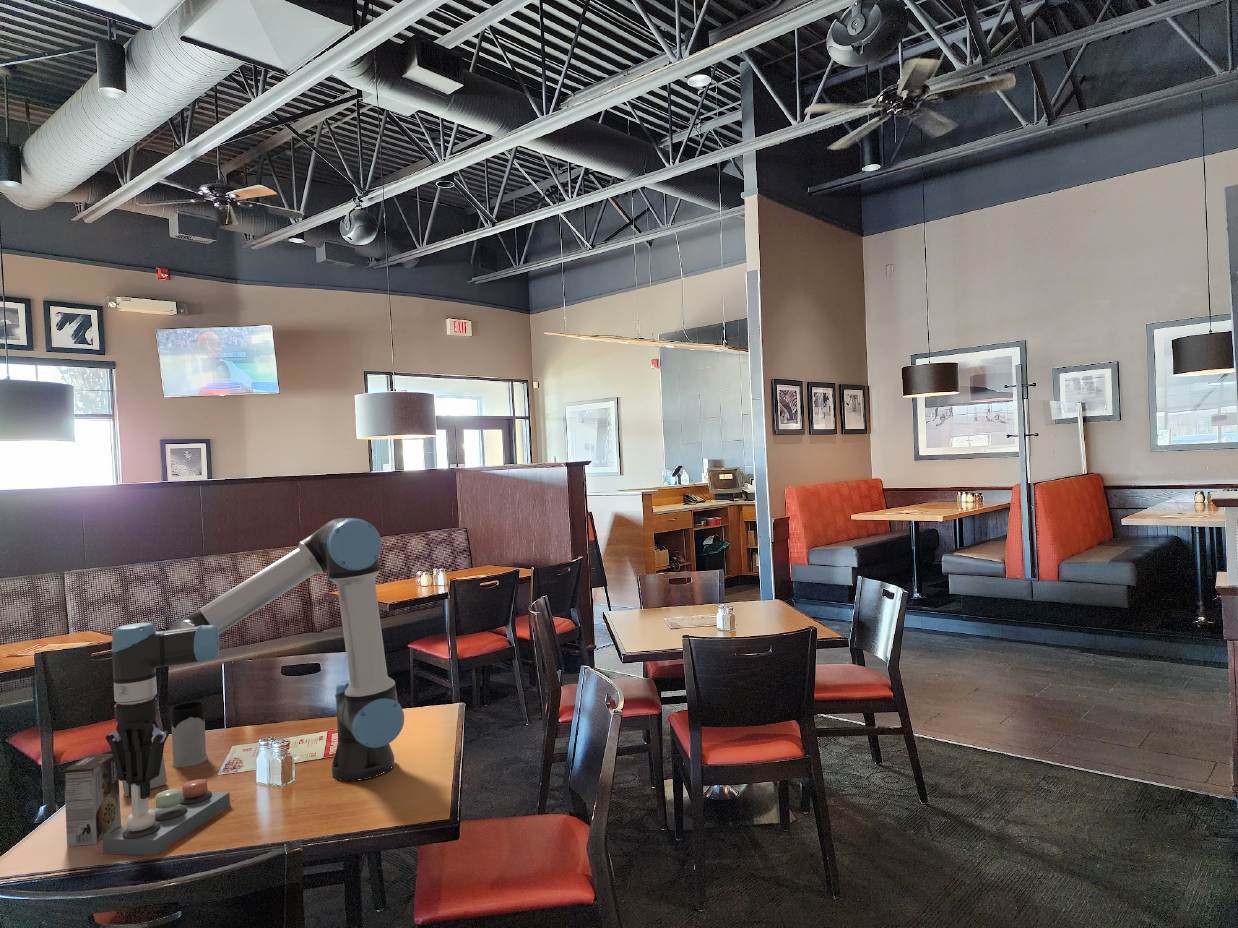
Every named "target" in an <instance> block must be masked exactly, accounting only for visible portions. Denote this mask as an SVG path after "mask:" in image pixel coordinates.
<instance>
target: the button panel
mask: <svg viewBox="0 0 1238 928" xmlns="http://www.w3.org/2000/svg"><path fill="white" fill-rule="evenodd" d="M230 794H231V793H230V792H228V791H225V792H224V791H222V792H221V791H214V792H213V791H211V790H208V791H207V792H206V793H205V794H203V795H200V796H197V797H192V798H184V797H183V794H182V799H183V801H182V802H181V803H180V804H178V805H176V806H173V807H170V808H164V809H159V808H156V807H154V808H151V810H154V811H155V824H154V825H152V826H151V827H149V828H146V829H143V830H138V831H128V830H127V824H125V825H124V826H122V827H120V828H118V829H117V830H114V831H112V832H111V833H110V834H109V835H108V836H106V837H105V838H103V839H102V840H101V842H102V843H101V844H102V854H103V855H133V856H134V855H137V856H141V855H142V856H143V855H144V856H157V855H158V854H160V853H161V852H163V851H164V850H165V849H167V848H168V847H170V846H171V845H173V844H174V843H176V842H178V841H179V840H180V839H182V838H184V837H185V836H186V835H188V834H189V833H191V832H192V831H194V830H195V829H197V828H198V827H200V826H202V825H203V824H204V823H206V822H207V821H209V820H211V819H212V818H213V817H215V816H216V815H218V814H219V813H221V812H223V811H224V810H225V809H226V808H228V807H230V806H231V800H230V799H231V797H230Z"/></svg>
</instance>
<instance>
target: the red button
mask: <svg viewBox="0 0 1238 928" xmlns="http://www.w3.org/2000/svg"><path fill="white" fill-rule="evenodd" d="M181 788H182V789H181V790H182V794H183V797H184V798H192V797H197V796H200V795H203V794H205V793H206V792H207V791H209V790H208V779H205V778H199V779H198V778H197V779H194V780H190V781H187V782H185V783H183V784H182V786H181Z"/></svg>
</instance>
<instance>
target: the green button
mask: <svg viewBox="0 0 1238 928" xmlns="http://www.w3.org/2000/svg"><path fill="white" fill-rule="evenodd" d="M182 801H183V799H182V789H181V788H171V789H167V790H163V791H160V792H158V793H157V794H155V808H159V809H164V808H170V807H173V806H176V805H178V804H180V803H181V802H182Z"/></svg>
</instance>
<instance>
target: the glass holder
mask: <svg viewBox="0 0 1238 928" xmlns="http://www.w3.org/2000/svg"><path fill="white" fill-rule="evenodd" d="M204 717H205V716H204V703H203V702H201V701H192V702H186V703H181V704H177V705H174V706H172V707H171V723H172V724H171V741H172V743H171V744H172V746H171V747H172V762H171V764H170V765H171V767H172V768H176V767H177V768H178V767H181V768H189V767H194V766H197V765H200V764H202V763H204V762H206V761H207V760H208V759H209V756H208V754H207V747H206V746H207V745H206V744H207V743H206V723H205V722H206V721H205V718H204ZM178 769H179V768H178Z"/></svg>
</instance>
